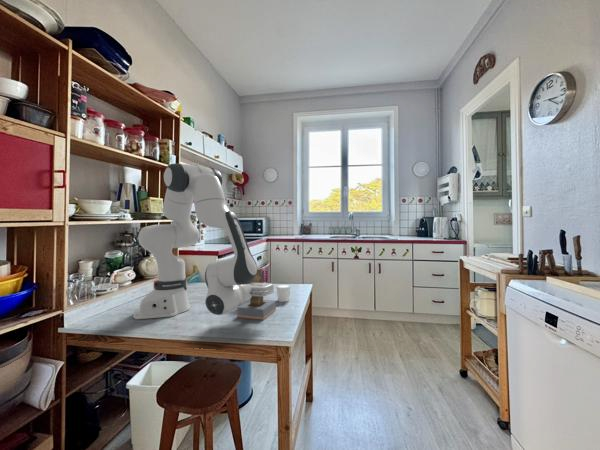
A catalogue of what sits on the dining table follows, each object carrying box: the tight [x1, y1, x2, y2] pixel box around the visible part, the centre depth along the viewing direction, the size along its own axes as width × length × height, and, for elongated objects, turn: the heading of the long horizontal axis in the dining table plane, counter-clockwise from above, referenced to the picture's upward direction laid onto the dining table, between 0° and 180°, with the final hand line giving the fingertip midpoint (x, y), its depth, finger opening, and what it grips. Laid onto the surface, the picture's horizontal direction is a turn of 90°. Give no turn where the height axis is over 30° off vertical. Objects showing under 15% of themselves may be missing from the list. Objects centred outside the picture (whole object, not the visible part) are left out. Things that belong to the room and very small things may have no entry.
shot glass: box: [275, 284, 291, 303], centre depth 131 cm, size 7×7×7 cm
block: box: [250, 267, 264, 307], centre depth 113 cm, size 4×4×18 cm
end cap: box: [236, 299, 277, 320], centre depth 113 cm, size 12×12×4 cm
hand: (257, 283), depth 114 cm, fingers open, 6 cm apart
